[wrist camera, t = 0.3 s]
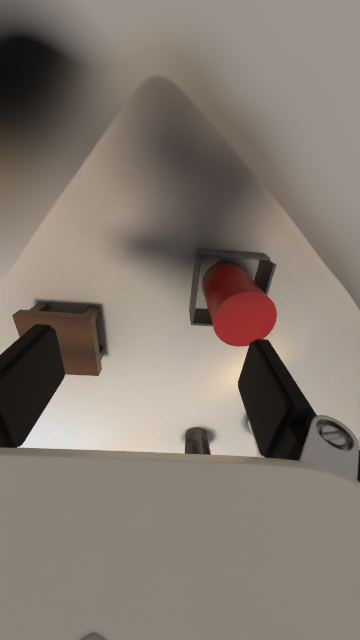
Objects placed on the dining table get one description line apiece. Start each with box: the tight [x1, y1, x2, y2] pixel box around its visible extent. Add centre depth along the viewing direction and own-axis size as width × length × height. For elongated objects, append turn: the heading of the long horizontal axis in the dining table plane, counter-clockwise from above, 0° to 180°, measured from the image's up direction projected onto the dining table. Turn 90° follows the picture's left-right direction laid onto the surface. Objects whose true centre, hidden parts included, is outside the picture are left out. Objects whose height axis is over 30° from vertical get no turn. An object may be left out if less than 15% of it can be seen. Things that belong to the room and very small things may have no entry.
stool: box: [12, 303, 104, 376], centre depth 33 cm, size 10×10×5 cm
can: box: [202, 262, 277, 346], centre depth 27 cm, size 6×6×11 cm
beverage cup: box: [185, 428, 211, 455], centre depth 40 cm, size 7×7×20 cm
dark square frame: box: [189, 249, 276, 326], centre depth 29 cm, size 9×9×4 cm
